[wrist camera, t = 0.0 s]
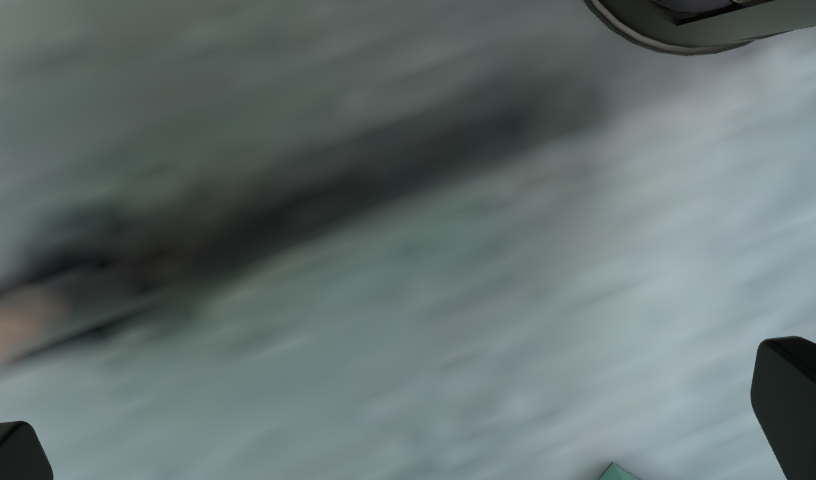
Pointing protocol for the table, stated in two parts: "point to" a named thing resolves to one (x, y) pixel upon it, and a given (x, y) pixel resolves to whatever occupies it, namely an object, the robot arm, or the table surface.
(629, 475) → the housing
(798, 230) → the table surface
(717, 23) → the french press
